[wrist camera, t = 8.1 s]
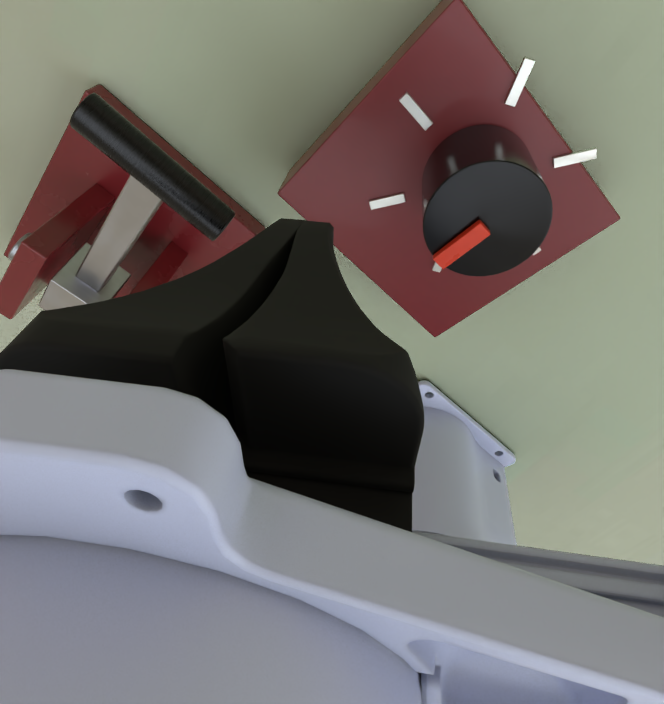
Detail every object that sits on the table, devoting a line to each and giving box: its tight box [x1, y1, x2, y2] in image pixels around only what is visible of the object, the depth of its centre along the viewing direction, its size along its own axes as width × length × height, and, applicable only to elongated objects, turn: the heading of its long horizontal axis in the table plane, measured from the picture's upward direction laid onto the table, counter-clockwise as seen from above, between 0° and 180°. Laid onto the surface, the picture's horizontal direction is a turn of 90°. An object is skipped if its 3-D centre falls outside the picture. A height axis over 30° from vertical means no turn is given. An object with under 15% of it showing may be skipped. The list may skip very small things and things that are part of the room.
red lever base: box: [0, 84, 265, 319], centre depth 22 cm, size 11×9×7 cm
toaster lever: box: [39, 93, 235, 310], centre depth 18 cm, size 11×5×2 cm, turn 137°
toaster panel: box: [278, 0, 620, 337], centre depth 20 cm, size 10×10×3 cm
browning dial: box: [422, 124, 553, 276], centre depth 17 cm, size 4×4×4 cm
